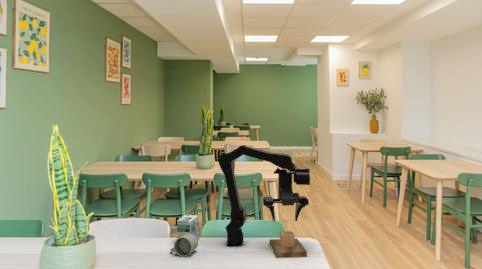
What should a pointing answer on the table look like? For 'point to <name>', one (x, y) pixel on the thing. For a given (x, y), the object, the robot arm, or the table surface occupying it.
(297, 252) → the walnut board
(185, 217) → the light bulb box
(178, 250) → the ceramic mug
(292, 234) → the terracotta cube
